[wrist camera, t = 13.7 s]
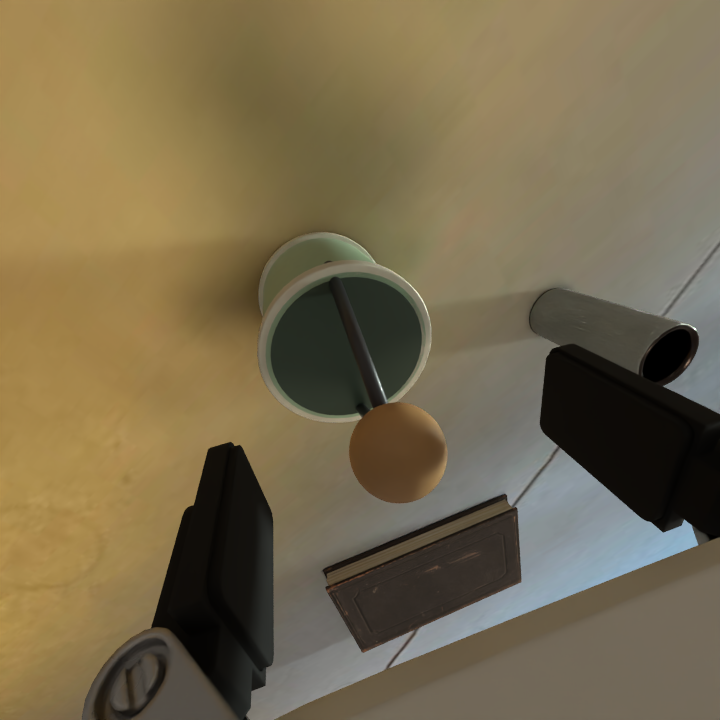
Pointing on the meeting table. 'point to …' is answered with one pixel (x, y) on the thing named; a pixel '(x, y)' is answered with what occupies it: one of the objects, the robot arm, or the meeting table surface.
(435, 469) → the green hollow rimmed cylinder
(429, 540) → the hardcover book
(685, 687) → the robot arm
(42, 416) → the meeting table surface
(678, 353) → the grey hollow tube
